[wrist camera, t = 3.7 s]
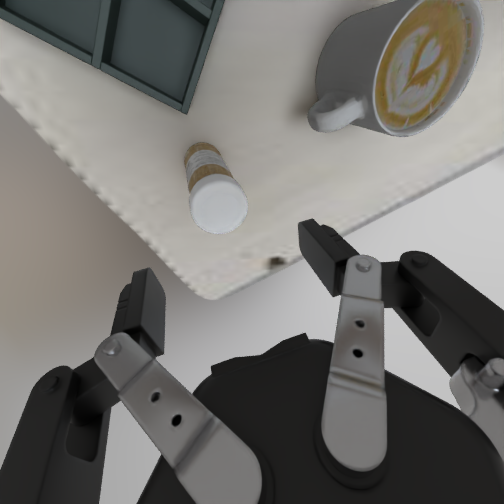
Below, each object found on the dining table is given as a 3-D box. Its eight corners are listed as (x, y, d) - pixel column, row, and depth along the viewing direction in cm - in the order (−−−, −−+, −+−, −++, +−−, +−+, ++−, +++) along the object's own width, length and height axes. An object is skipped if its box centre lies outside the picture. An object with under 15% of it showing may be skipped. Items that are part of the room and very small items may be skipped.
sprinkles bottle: (214, 185, 31) (235, 241, 21) (179, 172, 29) (182, 228, 19) (227, 150, 29) (259, 193, 18) (190, 134, 27) (202, 172, 16)
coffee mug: (397, -6, 24) (502, -43, 17) (392, 102, 31) (467, 111, 23) (277, 49, 24) (326, 38, 17) (297, 145, 31) (339, 169, 23)
